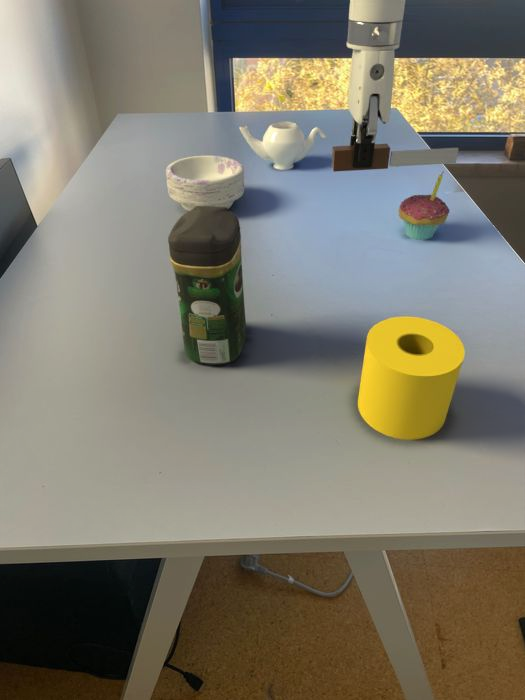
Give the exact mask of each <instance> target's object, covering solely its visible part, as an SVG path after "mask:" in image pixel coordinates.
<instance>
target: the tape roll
mask: <svg viewBox="0 0 525 700" xmlns="http://www.w3.org/2000/svg"><path fill="white" fill-rule="evenodd" d="M465 356H466V351H465V346H464V344H463V342H462V340H461V339H460V337H459V336H458V335H457V334H456V333H455V332H454V331H452V330H451V329H450V328H448V327H447V326H445V325H443V324H441V323H439V322H436V321H434V320H431V319H427V318H423V317H417V316H395V317H390V318H389V317H388V318H386V319H383V320H381V321H378V322H376V324H374V325H373V326H372V327H371V328H370V329H369V331H368V333H367V335H366V341H365V350H364V355H363V363H362V368H361V369H362V370H361V376H360V384H359V390H358V398H357V407H358V408H357V409H358V412H359V414H360V415H361V417H362V419H363V420H364V421H365V422H366V424H368V425H369V426H370V427H372V429H374V430H375V431H376V432H379V433H381V434H383V435H384V436H386V437H390V438H394V439H398V440H404V441H405V440H406V441H409V440H410V441H413V440H421V439H425V438H428V437H430V436H433V435H434V434H436V433H437V432H439V431H440V429H441V428H442V427H443V426H444V424H445V422H446V419H447V415H448V412H449V409H450V405H451V401H452V398H453V396H454V392H455V388H456V385H457V382H458V379H459V375H460V372H461V369H462V366H463V365H462V364H463V361H464V359H465Z"/></svg>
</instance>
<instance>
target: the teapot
mask: <svg viewBox="0 0 525 700" xmlns="http://www.w3.org/2000/svg"><path fill="white" fill-rule="evenodd" d="M239 131H240V133H241V134H242V136H243V138H244V140H245V142H247V144H248V146H249V147H250V148H251V150H252V151H253V152H254V153H255V155H257V156H258V157H259V158H261V159H262V160H264V161H266V162H272V163H273V168H274V169H275V170H281V171H286V170H287V171H288V170H291V169H293V168H294V164H295V163H298V162H300V161H301V160H303V159H304V158H306V157H307V156H308V155H309V153H310V152H311V151H312V149H313V148H314V145H315V143H316V139H317V134H318V135H319V136H320V137H321V138H322V139H327V138H328V136H327V135H326V134H325V133H324V132H323V130H322V129H320V127H317V126H316V127H313V128H312V130H311V131H310V133H309V135H308V136H307V137H306V138H305V135H304V133H303V131H302V130H301V127H300V126H299V125H298V124H297V123H295V122H293V121H277V122H273V123H271V124H270V125H269V126H268V127H267V129H266V131H265V133H264V134H263V136H262V140H260V139H258V138H255V137H254V136H253V135H251V132H250V131H249V127H248V126H247V125H240V126H239ZM274 163H275V164H274Z"/></svg>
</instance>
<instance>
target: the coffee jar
mask: <svg viewBox="0 0 525 700" xmlns="http://www.w3.org/2000/svg"><path fill="white" fill-rule="evenodd" d="M167 242H168V249H169V259H170V262H171V265H172V268H173V272H174V278H175V284H176V290H177V291H176V292H177V297H178V298H177V299H178V305H179V306H178V307H179V311H180V312H179V314H180V321H181V332H182V341H183V347H184V353H185V355H186V357H187V358H188V359H189V360H191V361H192V362H195V363H199V364H201V365H206V366H207V365H208V366H220V365H226V364H230V363H232V362H234V361H236V360H237V358H239V356H240V354H241V352H242V350H243V348H244V345H245V341H246V339H247V338H246V337H247V320H246V319H247V318H246V309H245V307H246V306H245V294H244V277H243V258H242V235H241V225H240V221H239V219H238V217H237V215H236V214H235V213H233V212H232V211H231V210H230V209H229V208H226V207H214V206H195V207H194V208H193V209H192V210H190V211H187V212H186V213H184V214H182V215H181V216H180V217H179V218H178V219H177V221H176V223H174V225H173V226H172V229H170V232H169V234H168V237H167Z"/></svg>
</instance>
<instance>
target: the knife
mask: <svg viewBox="0 0 525 700" xmlns="http://www.w3.org/2000/svg"><path fill="white" fill-rule="evenodd" d="M353 149H354V145H351V146H350V145H336V146H332V149H331V150H332V151H331V152H332V153H331V169H332V171H333V172H335V173H336V172H352V171H353V172H354V171H369V170H370V171H371V170H372V171H373V170H384V169H385V170H386V169H389V167H390V168H391V167H408V166H409V167H411V166H412V167H413V166H426V165H427V166H429V165H445V164H447V165H448V164H456V163H457V160H458V159H457V158H458V153H459V147H445V148H426V149H425V148H424V149H408V150H391V147H390V145H389V144H388V143H375V146H374V154H373V162H372V167H370V168H353V166H352V160H353Z"/></svg>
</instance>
